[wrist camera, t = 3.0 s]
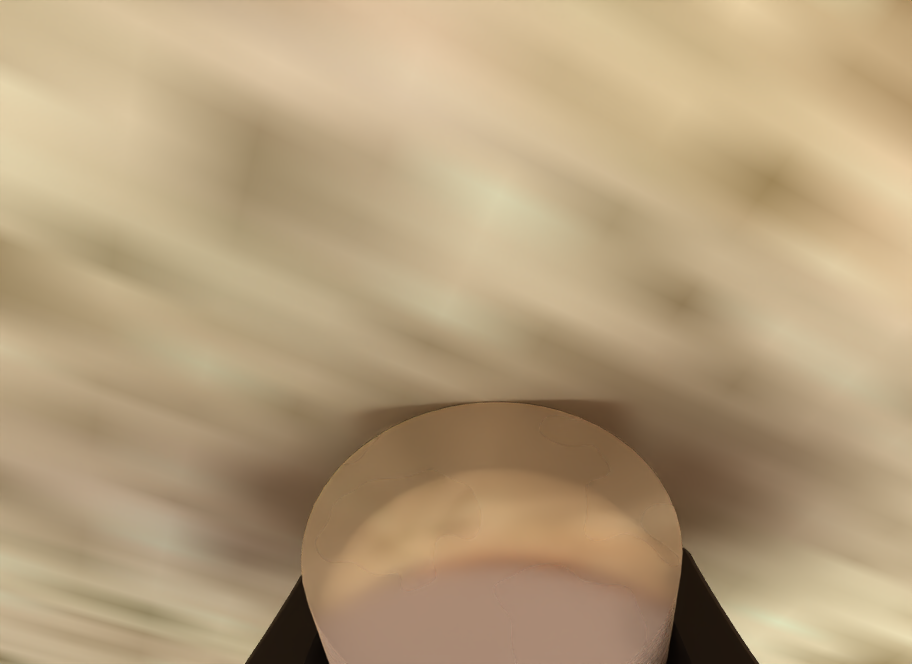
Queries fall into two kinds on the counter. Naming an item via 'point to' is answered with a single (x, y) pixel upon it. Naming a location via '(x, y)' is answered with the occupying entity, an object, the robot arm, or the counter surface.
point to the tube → (493, 545)
